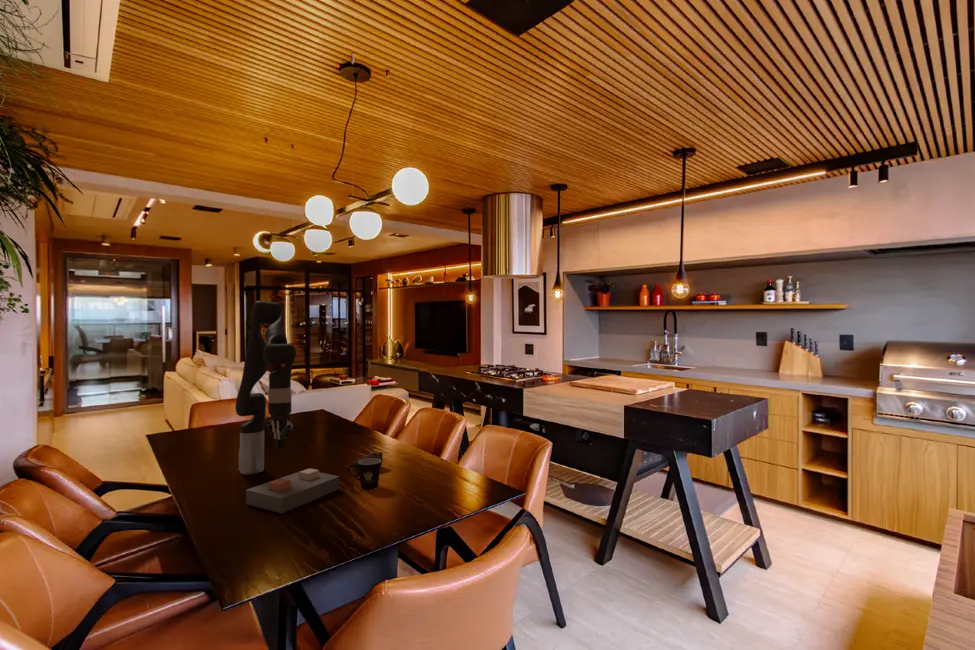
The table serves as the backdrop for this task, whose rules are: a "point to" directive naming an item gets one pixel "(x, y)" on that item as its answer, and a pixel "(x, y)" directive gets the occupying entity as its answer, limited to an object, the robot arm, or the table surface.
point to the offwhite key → (308, 474)
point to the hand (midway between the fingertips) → (279, 449)
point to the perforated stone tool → (374, 455)
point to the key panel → (292, 492)
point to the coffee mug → (368, 473)
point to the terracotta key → (279, 484)
